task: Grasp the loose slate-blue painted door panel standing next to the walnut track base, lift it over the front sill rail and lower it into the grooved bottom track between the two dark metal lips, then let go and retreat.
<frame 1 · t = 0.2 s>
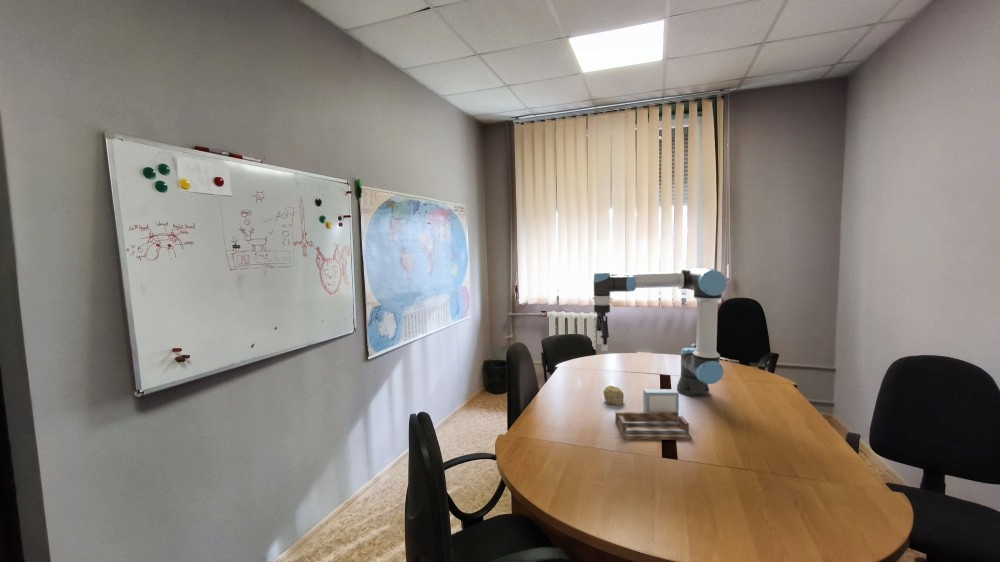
hand: (602, 347, 189), 28 cm above the table, fingers open, 13 cm apart
decorative item: (613, 402, 192), on the table
door panel: (660, 416, 174), on the table
track base: (651, 430, 161), on the table
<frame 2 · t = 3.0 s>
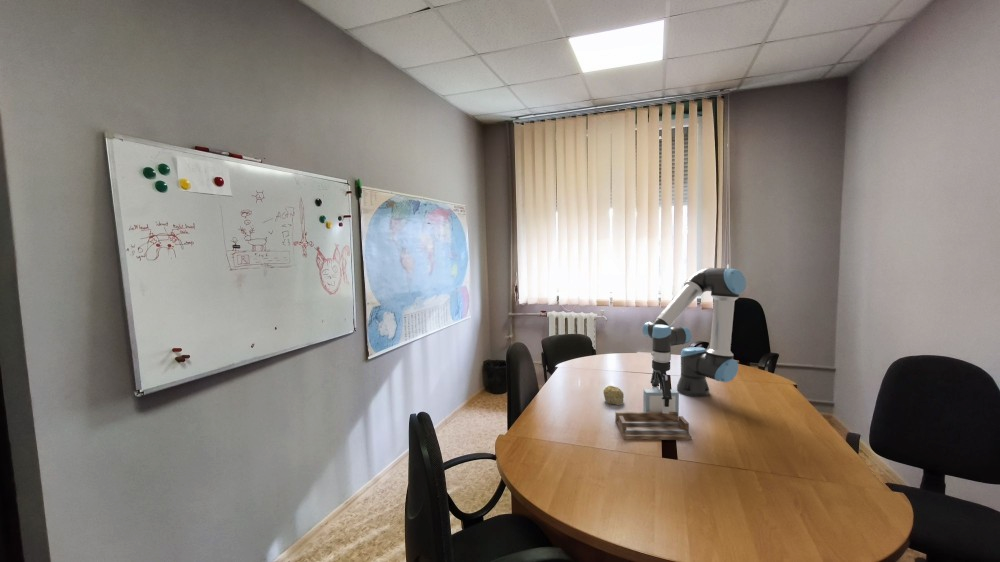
hand: (660, 406, 173), 5 cm above the table, fingers open, 13 cm apart
nothing on the table moved.
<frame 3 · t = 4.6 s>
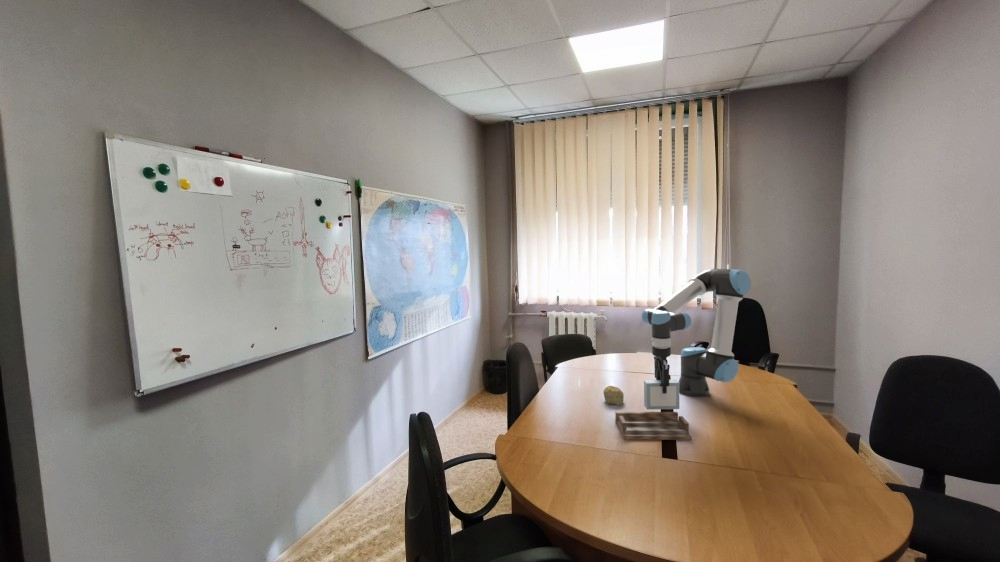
hand: (661, 397, 173), 9 cm above the table, fingers closed on door panel, 4 cm apart
door panel: (661, 407, 174), point 4 cm above the table, touching gripper
everything else where it was.
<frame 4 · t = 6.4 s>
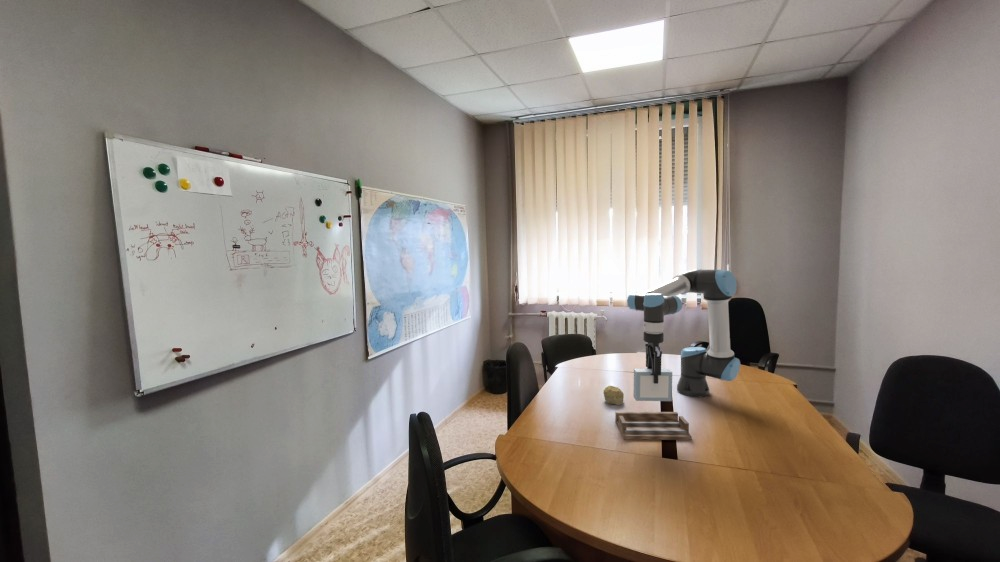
hand: (653, 388, 158), 19 cm above the table, fingers closed on door panel, 4 cm apart
door panel: (652, 399, 158), point 14 cm above the table, touching gripper
everything else where it was.
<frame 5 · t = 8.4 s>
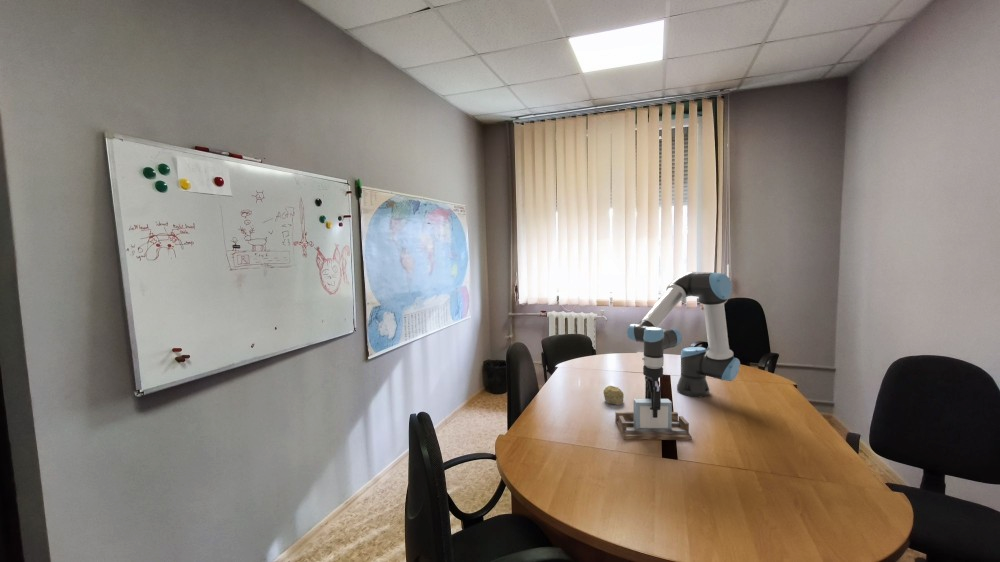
hand: (652, 421, 159), 5 cm above the table, fingers closed on door panel, 4 cm apart
door panel: (652, 428, 159), point 1 cm above the table, touching gripper, track base
everything else where it was.
when the fingers open (5 cm above the table, at t = 8.5 s): door panel stays where it is, resting on track base.
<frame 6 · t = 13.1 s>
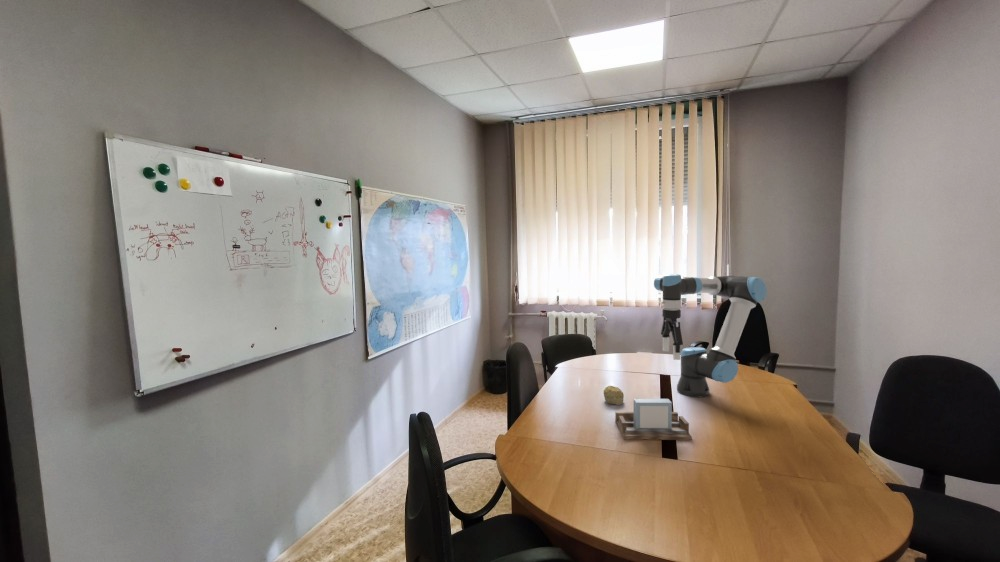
hand: (671, 355, 176), 27 cm above the table, fingers open, 13 cm apart
door panel: (652, 428, 159), point 1 cm above the table, touching track base
everything else where it was.
at the end: door panel inside the target area on the track base (0.2 cm from its centre), point 1.5 cm above the track base's base; door panel tilted 0°; the gripper is holding nothing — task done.
